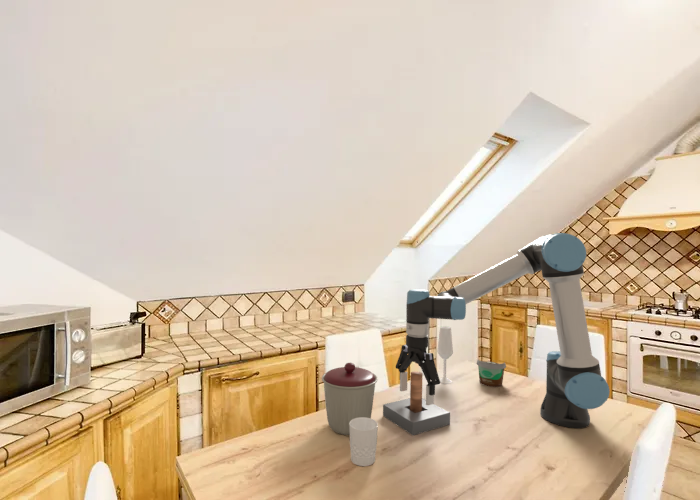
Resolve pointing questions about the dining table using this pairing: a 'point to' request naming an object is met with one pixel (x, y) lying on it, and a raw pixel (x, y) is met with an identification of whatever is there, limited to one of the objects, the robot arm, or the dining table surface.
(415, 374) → the peg
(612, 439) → the dining table surface
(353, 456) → the white cup
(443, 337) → the champagne flute
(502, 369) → the food container
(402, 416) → the socket block
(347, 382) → the canister
